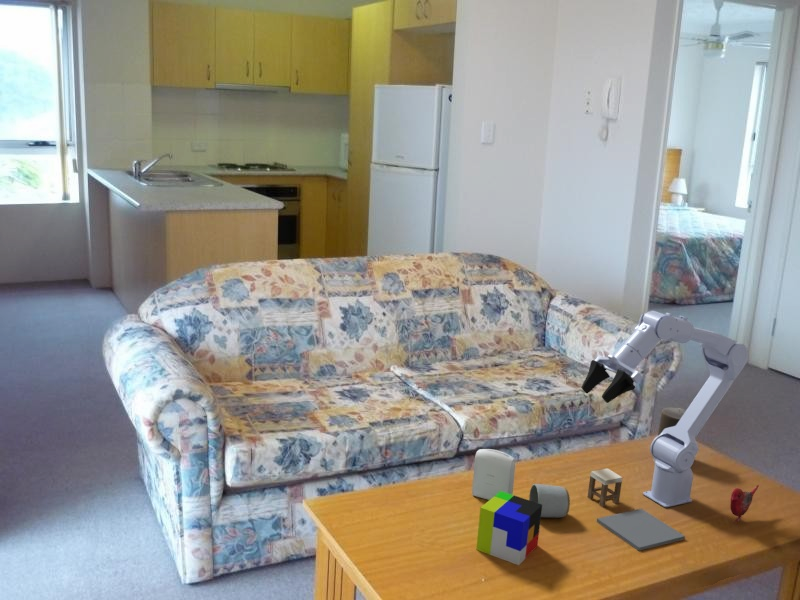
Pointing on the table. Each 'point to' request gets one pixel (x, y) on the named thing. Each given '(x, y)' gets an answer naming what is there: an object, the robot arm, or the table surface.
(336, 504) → the table surface
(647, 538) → the mat
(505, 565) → the table surface
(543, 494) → the ceramic mug
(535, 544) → the puzzle toy
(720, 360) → the robot arm
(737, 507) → the decorative bird figurine
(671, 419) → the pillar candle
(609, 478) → the stool
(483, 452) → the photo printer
